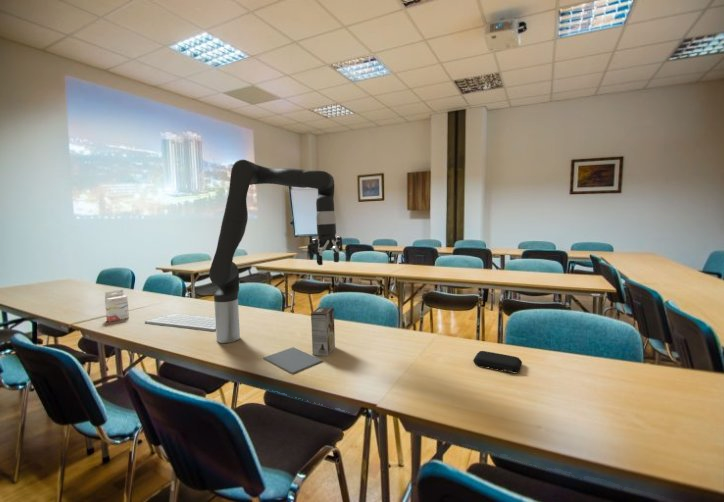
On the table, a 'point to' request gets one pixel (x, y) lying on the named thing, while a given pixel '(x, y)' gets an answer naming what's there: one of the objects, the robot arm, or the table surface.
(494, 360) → the carrying case or bag
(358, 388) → the table surface
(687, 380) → the table surface
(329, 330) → the coffee box
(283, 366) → the dark rubber mat
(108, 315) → the ink cartridge box
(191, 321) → the computer keyboard
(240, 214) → the robot arm
